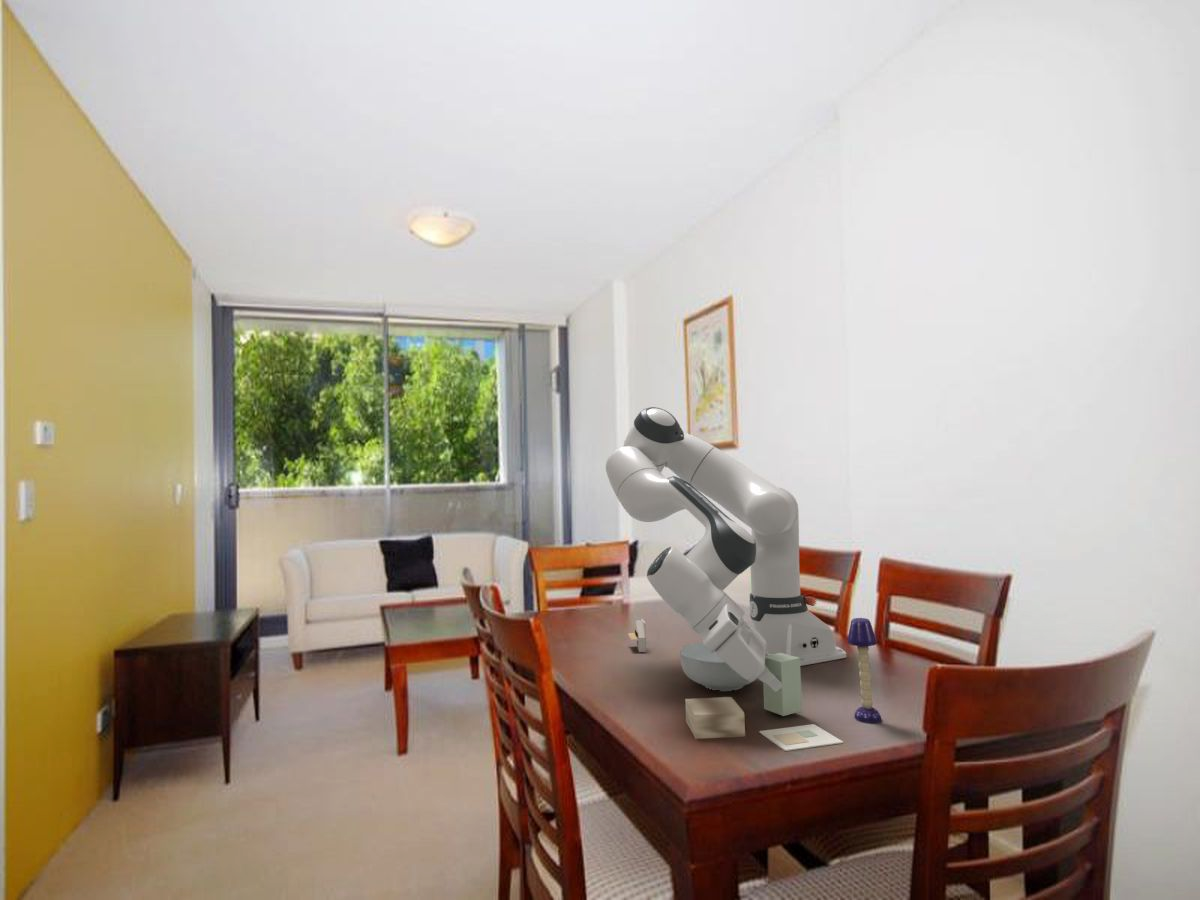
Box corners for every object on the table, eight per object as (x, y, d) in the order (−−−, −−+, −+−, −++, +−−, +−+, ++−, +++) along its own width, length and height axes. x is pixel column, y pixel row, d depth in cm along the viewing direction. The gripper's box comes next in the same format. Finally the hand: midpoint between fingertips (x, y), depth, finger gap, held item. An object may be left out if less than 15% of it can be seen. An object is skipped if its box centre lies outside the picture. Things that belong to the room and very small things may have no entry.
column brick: (782, 703, 120) (780, 652, 120) (802, 710, 116) (799, 658, 116) (764, 708, 118) (762, 656, 118) (783, 716, 114) (780, 662, 114)
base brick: (732, 720, 115) (731, 696, 115) (745, 738, 107) (744, 712, 107) (686, 722, 115) (685, 698, 115) (695, 740, 107) (694, 714, 107)
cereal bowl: (678, 673, 143) (677, 640, 143) (757, 673, 142) (756, 639, 142) (683, 698, 126) (682, 660, 126) (772, 699, 125) (771, 660, 125)
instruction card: (813, 725, 111) (813, 723, 111) (843, 743, 103) (843, 741, 103) (759, 732, 109) (759, 730, 109) (785, 751, 101) (785, 749, 101)
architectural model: (632, 655, 161) (631, 623, 161) (628, 648, 168) (627, 618, 168) (646, 654, 161) (645, 623, 162) (642, 647, 168) (641, 617, 169)
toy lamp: (865, 725, 111) (861, 623, 111) (844, 716, 115) (840, 618, 116) (887, 720, 113) (882, 620, 113) (865, 712, 117) (862, 615, 118)
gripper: (713, 623, 131) (767, 676, 128) (702, 648, 111) (766, 712, 108) (736, 600, 130) (791, 653, 127) (729, 622, 110) (793, 685, 107)
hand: (779, 681), depth 117 cm, fingers closed on column brick, 6 cm apart
